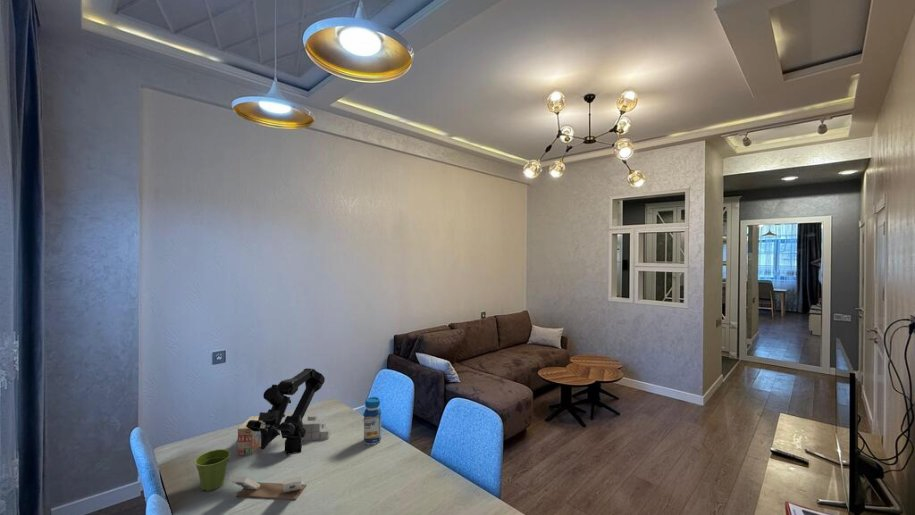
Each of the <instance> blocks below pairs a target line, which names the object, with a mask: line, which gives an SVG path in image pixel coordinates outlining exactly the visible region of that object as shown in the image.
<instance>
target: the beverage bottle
mask: <svg viewBox="0 0 915 515" xmlns="http://www.w3.org/2000/svg"><path fill="white" fill-rule="evenodd" d="M380 401H381V400H380V398H379V397H376V396H372V397H368V398H366V399H365V403H364V404H365V410H364V412H363V442H364V443H365V444H366V445H369V444H372V445H377V444H379V443H380V442H381V441H382V421H383V420H382V418H383V417H382V410H381V408H380V405H381V402H380ZM378 442H379V443H378ZM376 443H377V444H376Z"/></svg>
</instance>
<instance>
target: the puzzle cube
mask: <svg viewBox="0 0 915 515" xmlns="http://www.w3.org/2000/svg"><path fill="white" fill-rule="evenodd" d="M318 418H319V417H318V413H317V412H315V413H309V414H308V416H307V420H304V422H303V428H304V429H305V430H306V432H305V435H304V438H302V441H316V440H317V439H321V440H329V439H330V437H331V427H327V425H326V424H327V422H326V420H322V419H320V420H319V419H318ZM317 441H318V440H317Z"/></svg>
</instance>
